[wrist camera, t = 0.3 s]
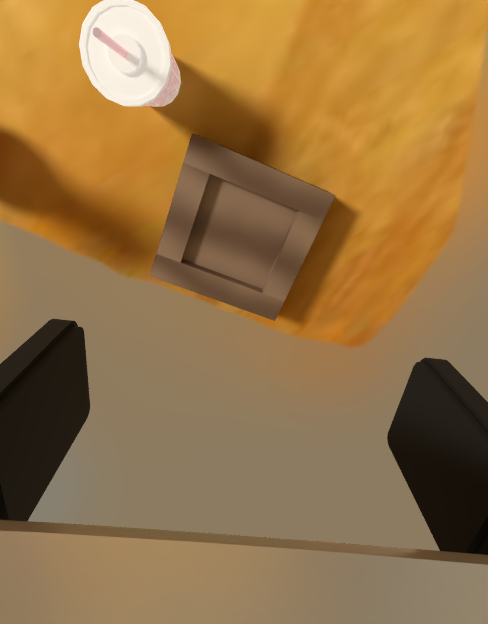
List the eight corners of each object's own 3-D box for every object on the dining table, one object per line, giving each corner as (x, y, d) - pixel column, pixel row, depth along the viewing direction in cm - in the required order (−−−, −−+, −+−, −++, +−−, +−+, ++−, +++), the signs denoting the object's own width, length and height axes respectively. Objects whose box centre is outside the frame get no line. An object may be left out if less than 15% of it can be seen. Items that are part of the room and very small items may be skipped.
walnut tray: (197, 135, 34) (192, 133, 30) (326, 190, 36) (335, 195, 33) (159, 263, 40) (149, 275, 36) (272, 305, 42) (274, 320, 38)
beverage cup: (122, 28, 30) (35, -56, 18) (193, 44, 31) (157, -27, 18) (120, 108, 33) (42, 85, 20) (185, 122, 33) (149, 107, 21)
